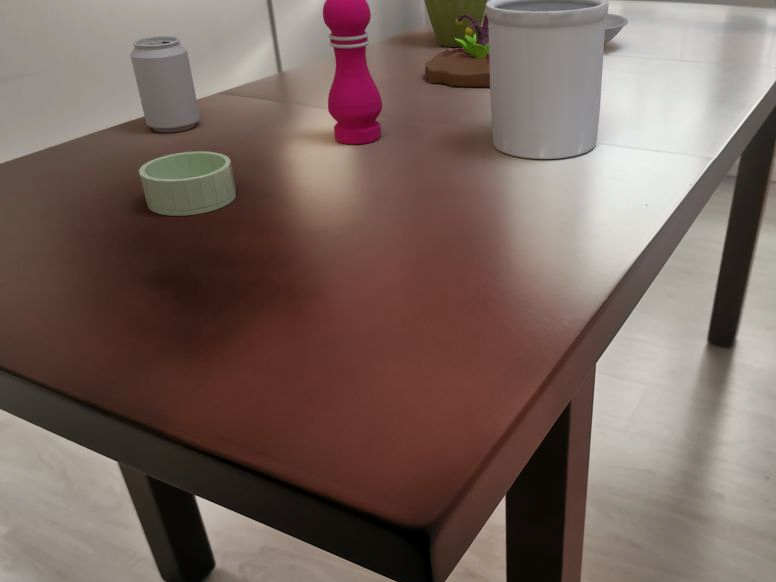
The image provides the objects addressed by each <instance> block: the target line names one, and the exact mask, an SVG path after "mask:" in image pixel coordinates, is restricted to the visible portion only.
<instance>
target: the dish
mask: <svg viewBox="0 0 776 582" xmlns="http://www.w3.org/2000/svg"><path fill="white" fill-rule="evenodd" d="M628 23H629V19H628V18H627V17H625V16H622V15H619V14H614V13H607V15H606V17H605V36H604V44H606V43H608V42H610V41H611V40H613V39H614V38H615V37H616V36H618V34H619V33H620V32H621V30H623V28H624V27H625V26H627V25H628Z"/></svg>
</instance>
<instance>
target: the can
mask: <svg viewBox="0 0 776 582" xmlns="http://www.w3.org/2000/svg"><path fill="white" fill-rule="evenodd" d="M132 45H133V49H132V51H131V52H130V53H129V54H130V59H131V64H132V70H133V73H134V77H135V82H136V86H137V91H138V94H139V99H140V104H141V107H142V112H143V117H144V120H145V125H147V127H149V128H151V129H153V130H154V131H156V132H158V133H177V132H182V131H183V132H184V131H188V130H189V129H193V128H194V127H195V126H196V125H197V123H198V122H199V120H200V119H201V115H200V110H199V104H198V99H197V95H196V89H195V84H194V79H193V74H192V68H191V63H190V58H189V53H188V50H187V48H185V46H184V45H182V44H181V39H180V38H179V37H177V36H169V35H168V36H167V35H166V36H165V35H161V36H151V37H150V36H149V37H144V38H143V37H142V38H139V39H136V40H134V41H133V42H132Z"/></svg>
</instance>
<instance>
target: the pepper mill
mask: <svg viewBox="0 0 776 582" xmlns="http://www.w3.org/2000/svg"><path fill="white" fill-rule="evenodd" d="M371 14H372V13H371V9H370V5H369V3H368V2H367V0H325V2H324V4H323V7H322V18H323V22H324V24H325V25H326V27H327V28H328V29H329V30H330V32H331V33H329V34H328V38H329V39H330V42H329V46H330V47H332V48H333V53H334V59H335V70H334V76H333V79H332V83H331V86H330V88H329V92H328V96H327V97H328V98H327V111H328V113H329V115H330V116H331V117H332V118H333V119H334V120H335V122H336V123H335V124H334V126H333V132H334V139H335V140H336V142H337V143H341V144H344V145H356V146H357V145H366V144H371V143H374V142H376V141H378V140H380V138H381V136H382V133H381V124H380V122H379V121H378V120H377V118H379V116H380V114H381V113H382V110H383V100H382V96H381V93H380V91H379V89H378V86H377V84H376V83H375V81H374V79H373V76H372V75H371V73H370V70H369V67H368V61H367V46H368V45H369V44H370V41H369V38H368V37H369V33H368V32H367V31H366V29H367V28H368V26H369V24H370V22H371V18H372V17H371Z"/></svg>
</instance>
